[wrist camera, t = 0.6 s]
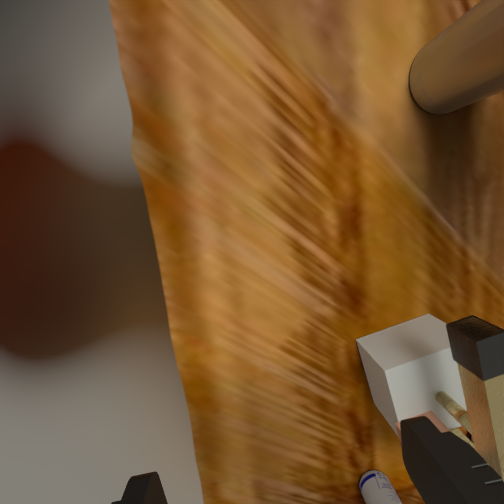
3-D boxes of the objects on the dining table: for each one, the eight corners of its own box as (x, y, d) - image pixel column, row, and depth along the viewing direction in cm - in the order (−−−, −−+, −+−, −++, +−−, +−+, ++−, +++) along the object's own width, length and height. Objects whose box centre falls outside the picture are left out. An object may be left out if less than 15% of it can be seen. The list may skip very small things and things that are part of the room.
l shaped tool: (462, 442, 37) (537, 521, 28) (442, 449, 37) (512, 530, 28) (429, 295, 32) (506, 331, 23) (407, 303, 32) (476, 342, 23)
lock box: (443, 378, 45) (488, 415, 37) (374, 403, 44) (404, 446, 37) (428, 313, 42) (473, 338, 34) (355, 339, 42) (384, 370, 34)
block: (437, 440, 37) (455, 461, 34) (403, 453, 37) (418, 475, 34) (430, 410, 36) (448, 429, 33) (394, 423, 36) (409, 443, 33)
